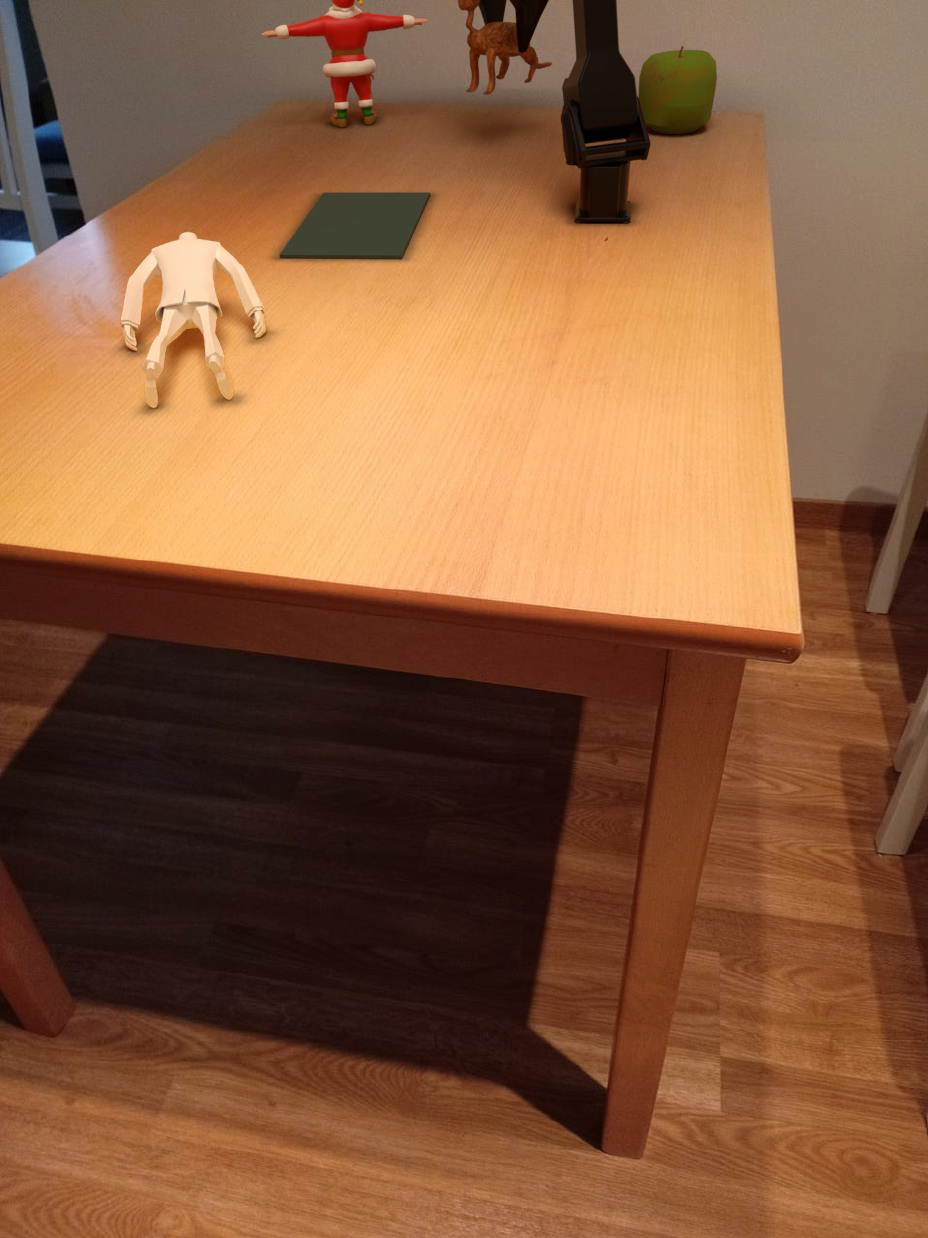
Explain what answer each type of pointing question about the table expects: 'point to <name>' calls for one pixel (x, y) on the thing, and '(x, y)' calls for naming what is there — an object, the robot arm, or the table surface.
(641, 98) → the apple
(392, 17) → the santa figurine
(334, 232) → the mat
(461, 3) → the cat figurine
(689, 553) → the table surface
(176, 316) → the male figurine
